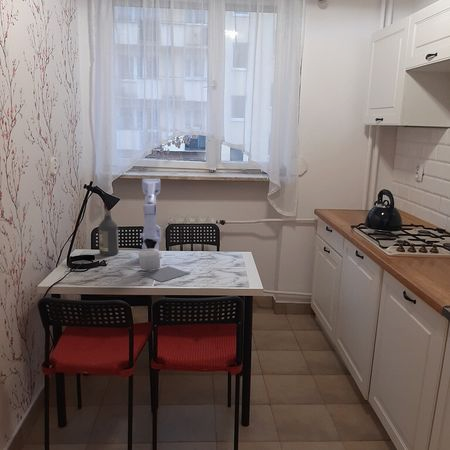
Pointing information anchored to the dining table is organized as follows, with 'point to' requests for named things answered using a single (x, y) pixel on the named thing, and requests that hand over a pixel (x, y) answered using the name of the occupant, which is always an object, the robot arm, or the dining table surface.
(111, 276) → the dining table surface
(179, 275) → the mat
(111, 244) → the liquor
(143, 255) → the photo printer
